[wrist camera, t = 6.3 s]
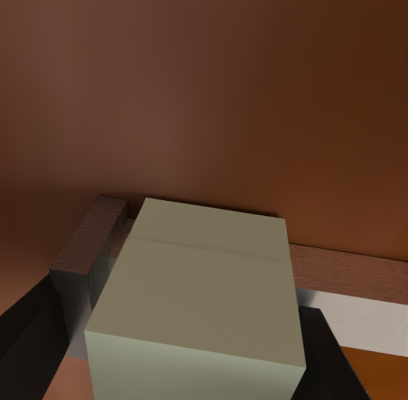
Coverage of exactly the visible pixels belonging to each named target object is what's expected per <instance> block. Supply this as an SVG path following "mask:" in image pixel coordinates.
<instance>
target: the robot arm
mask: <svg viewBox="0 0 408 400" xmlns="http://www.w3.org/2000/svg"><path fill="white" fill-rule="evenodd" d="M298 312H299V319H300V326H301V333H302V341H303V348H304V355H305V362H306V370H305V372H304V374H303V376H302V378H301V379H300V381H299V383H298V385H297V387H296V389H295V391H294V393H293V395H292V397H291V399H290V400H372V399H371V398H370V396H369V394H368V393H367V391H366V390H365V388H364V386H363V385H362V383H361V381H360V380H359V378H358V376H357V375H356V373H355V371H354V370H353V368H352V366H351V364H350V363H349V361H348V359H347V357H346V356H345V354H344V352H343V350H342V348H341V347H340V345H339V343H338V341H337V339H336V337H335V336H334V334H333V332H332V330H331V328H330V326H329V324H328V322H327V320H326V318H325V317H324V315H323V313H322V311H321V310H320V308H314V307H307V306H300V305H299V308H298ZM68 347H69V340H68V334H67V329H66V324H65V319H64V314H63V308H62V303H61V298H60V293H59V290H53V285H52V281H51V276H50V273H49V274H48V275H47V276H46V277H44V278H43V279H42V280H41V281H40V282H39V283H38V284H37V285H36V286H34V287H33V288H32V289H31V290H30V291H29V292H28V293H26V294H25V295H24V296H23V297H22V298H21V299H20V300H18V301H17V302H16V303H15V304H14V305H13V306H11V307H10V308H9V309H8V310H7V311H6V312H4V313H3V314H2V315H1V316H0V400H42V399H43V397H44V395H45V393H46V391H47V389H48V387H49V385H50V383H51V381H52V379H53V377H54V375H55V373H56V371H57V369H58V367H59V366H60V364H61V362H62V360H63V358H64V356H65V354H66V352H67V349H68Z"/></svg>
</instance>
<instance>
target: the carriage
mask: <svg viewBox="0 0 408 400" xmlns="http://www.w3.org/2000/svg"><path fill="white" fill-rule="evenodd" d="M84 333H85V340H86V347H87V354H88V361H89V367H90V374H91V381H92V388H93V395H94V400H290V399H291V397H292V395H293V393H294V391H295V389H296V387H297V385H298V383H299V381H300V379H301V378H302V376H303V374H304V372H305V370H306V362H305V355H304V348H303V341H302V333H301V326H300V319H299V312H298V305H297V298H296V290H295V283H294V276H293V269H292V263H291V259H290V252H289V244H288V237H287V230H286V223H285V219H281V218H275V217H268V216H262V215H255V214H249V213H242V212H236V211H229V210H223V209H216V208H210V207H203V206H197V205H190V204H184V203H177V202H171V201H164V200H158V199H151V198H146V199H145V201H144V203H143V206H142V208H141V210H140V212H139V214H138V216H137V219H136V221H135V223H134V225H133V227H132V230H131V232H130V234H129V236H128V237H127V239H126V241H125V243H124V245H123V248H122V250H121V252H120V254H119V256H118V258H117V261H116V263H115V265H114V267H113V269H112V271H111V274H110V276H109V278H108V280H107V282H106V284H105V286H104V289H103V291H102V293H101V295H100V297H99V299H98V302H97V304H96V306H95V308H94V310H93V312H92V315H91V317H90V319H89V321H88V323H87V325H86V328H85V330H84Z"/></svg>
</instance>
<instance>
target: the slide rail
mask: <svg viewBox="0 0 408 400" xmlns="http://www.w3.org/2000/svg"><path fill="white" fill-rule="evenodd" d="M135 221H136V220H135V219H128V208H127V200H125V199H118V198H112V197H105V196H98V197H97V199H96V200H95V202H94V203H93V205H92V206H91V207H90V209H89V210H88V212H87V213H86V215H85V216H84V218H83V219H82V221H81V222H80V224H79V225H78V227H77V228H76V230H75V231H74V233H73V234H72V236H71V237H70V239H69V240H68V242H67V243H66V245H65V246H64V247H63V249H62V250H61V252H60V253H59V255H58V256H57V258H56V259H55V261H54V262H53V264H52V265H51V267H50V268H49V271H50V276H51V281H52V285H53V290H59V293H60V298H61V303H62V308H63V314H64V319H65V324H66V329H67V334H68V340H69V347H68V349H67V352H66V353H67V356H68V357H73V358H79V359H85V360H88V354H87V347H86V340H85V333H84V330H85V328H86V325H87V323H88V321H89V319H90V317H91V315H92V312H93V310H94V308H95V306H96V304H97V302H98V299H99V297H100V295H101V293H102V291H103V289H104V286H105V284H106V282H107V280H108V278H109V276H110V274H111V271H112V269H113V267H114V265H115V263H116V261H117V258H118V256H119V254H120V252H121V250H122V248H123V245H124V243H125V241H126V239H127V237H128V236H129V234H130V232H131V230H132V227H133V225H134V223H135ZM289 252H290V259H291V263H292V269H293V276H294V283H295V290H296V298H297V305H298V308H299V305H300V306H307V307H314V308H320V310H321V311H322V313H323V315H324V317H325V318H326V320H327V322H328V324H329V326H330V328H331V330H332V332H333V334H334V336H335V337H336V339H337V341H338V343H339V345H340V346H346V347H352V348H358V349H364V350H370V351H376V352H382V353H388V354H394V355H400V356H406V357H408V262H404V261H397V260H391V259H385V258H378V257H372V256H365V255H359V254H352V253H346V252H340V251H333V250H327V249H320V248H314V247H308V246H301V245H295V244H289Z"/></svg>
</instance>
